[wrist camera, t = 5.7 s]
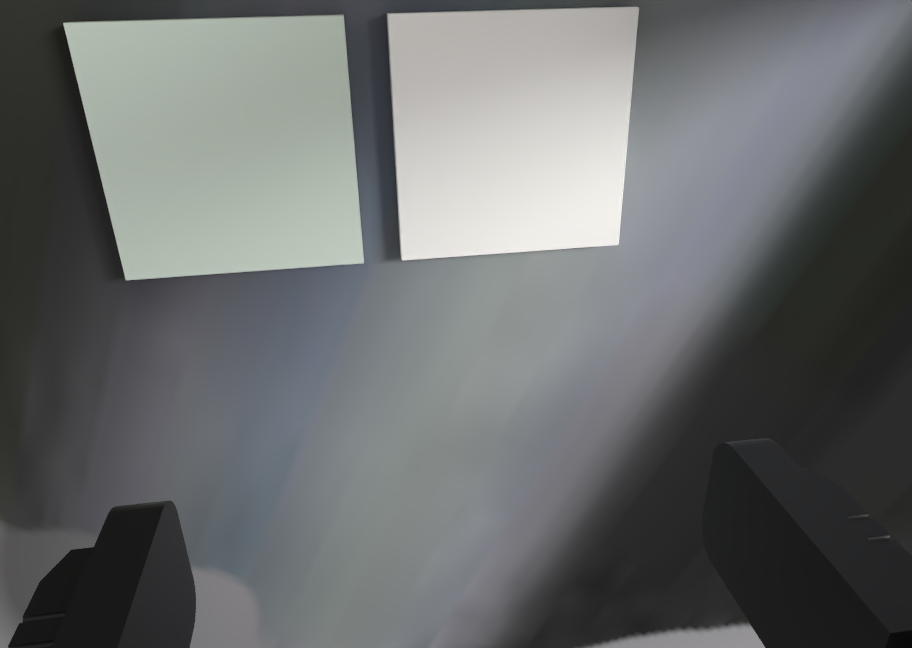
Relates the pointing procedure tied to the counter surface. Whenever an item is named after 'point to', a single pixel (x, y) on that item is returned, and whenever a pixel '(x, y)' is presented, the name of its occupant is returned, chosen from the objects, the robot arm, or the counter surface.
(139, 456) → the counter surface
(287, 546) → the counter surface
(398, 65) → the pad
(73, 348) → the counter surface
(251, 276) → the counter surface
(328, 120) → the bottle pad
